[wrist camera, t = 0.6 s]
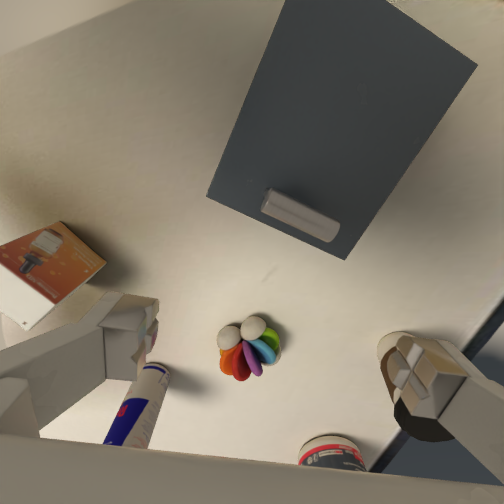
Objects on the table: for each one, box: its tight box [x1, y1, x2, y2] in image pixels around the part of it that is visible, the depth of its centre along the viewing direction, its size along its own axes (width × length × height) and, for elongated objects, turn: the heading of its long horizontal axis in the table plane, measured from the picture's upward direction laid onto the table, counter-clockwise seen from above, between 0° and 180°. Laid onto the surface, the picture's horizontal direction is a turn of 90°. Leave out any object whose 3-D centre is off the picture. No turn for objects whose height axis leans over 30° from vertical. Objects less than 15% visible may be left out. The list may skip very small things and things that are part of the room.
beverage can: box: [103, 363, 170, 449], centre depth 38 cm, size 6×6×15 cm
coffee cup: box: [377, 332, 455, 442], centre depth 38 cm, size 11×11×12 cm
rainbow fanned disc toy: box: [217, 316, 281, 381], centre depth 39 cm, size 8×10×7 cm
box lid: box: [206, 0, 478, 260], centre depth 18 cm, size 16×14×5 cm
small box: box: [0, 222, 107, 331], centre depth 31 cm, size 8×6×10 cm
